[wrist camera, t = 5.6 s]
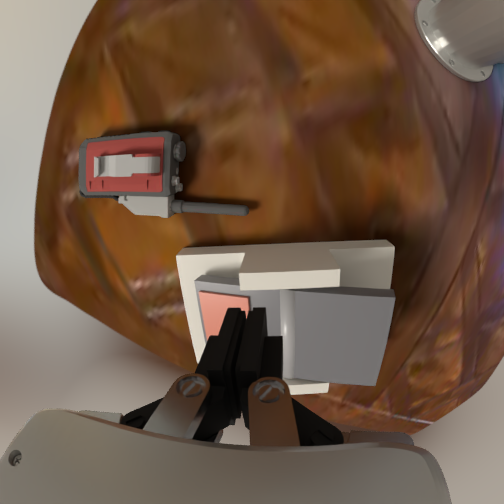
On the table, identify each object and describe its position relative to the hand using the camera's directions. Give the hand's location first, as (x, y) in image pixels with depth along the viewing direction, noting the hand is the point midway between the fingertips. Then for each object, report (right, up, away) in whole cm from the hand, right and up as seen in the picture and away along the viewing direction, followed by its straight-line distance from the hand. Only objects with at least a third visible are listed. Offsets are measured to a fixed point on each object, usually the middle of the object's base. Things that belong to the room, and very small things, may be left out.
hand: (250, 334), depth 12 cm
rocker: (+4, -4, +13) cm, 14 cm away
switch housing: (+4, -2, +19) cm, 19 cm away
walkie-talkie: (-10, +12, +16) cm, 22 cm away
